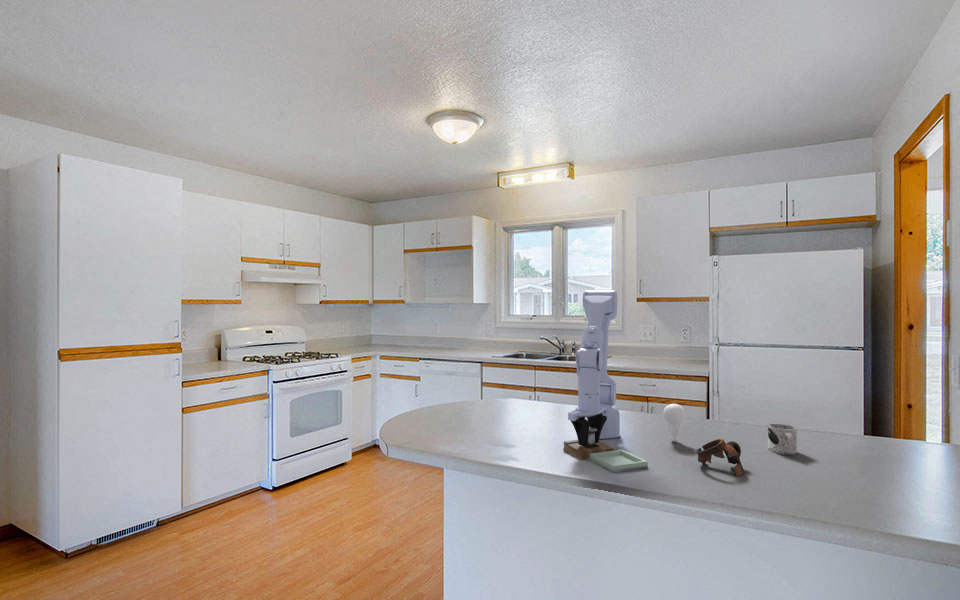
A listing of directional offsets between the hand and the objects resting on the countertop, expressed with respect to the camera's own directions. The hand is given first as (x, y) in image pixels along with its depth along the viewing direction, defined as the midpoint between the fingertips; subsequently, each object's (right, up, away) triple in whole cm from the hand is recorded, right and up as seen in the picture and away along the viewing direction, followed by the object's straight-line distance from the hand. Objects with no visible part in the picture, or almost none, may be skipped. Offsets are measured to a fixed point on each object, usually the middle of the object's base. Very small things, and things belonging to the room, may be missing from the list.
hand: (588, 443), depth 131 cm
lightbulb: (+27, -3, +10) cm, 29 cm away
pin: (0, -2, 0) cm, 2 cm away
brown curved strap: (+30, -3, -12) cm, 33 cm away
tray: (+5, -2, -9) cm, 10 cm away
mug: (+53, -3, +1) cm, 53 cm away
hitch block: (0, -2, 0) cm, 2 cm away
